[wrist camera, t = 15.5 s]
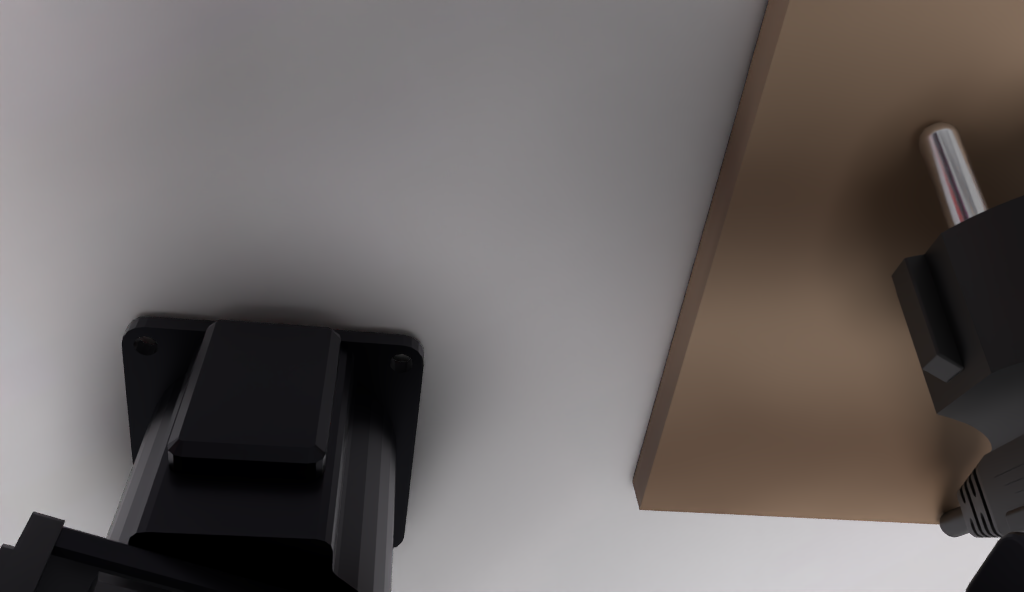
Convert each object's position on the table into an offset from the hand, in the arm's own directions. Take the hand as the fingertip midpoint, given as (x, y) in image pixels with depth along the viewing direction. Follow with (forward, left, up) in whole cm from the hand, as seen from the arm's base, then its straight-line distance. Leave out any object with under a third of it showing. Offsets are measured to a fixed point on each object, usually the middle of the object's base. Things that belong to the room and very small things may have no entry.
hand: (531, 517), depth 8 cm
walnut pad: (-3, -11, -12) cm, 17 cm away
